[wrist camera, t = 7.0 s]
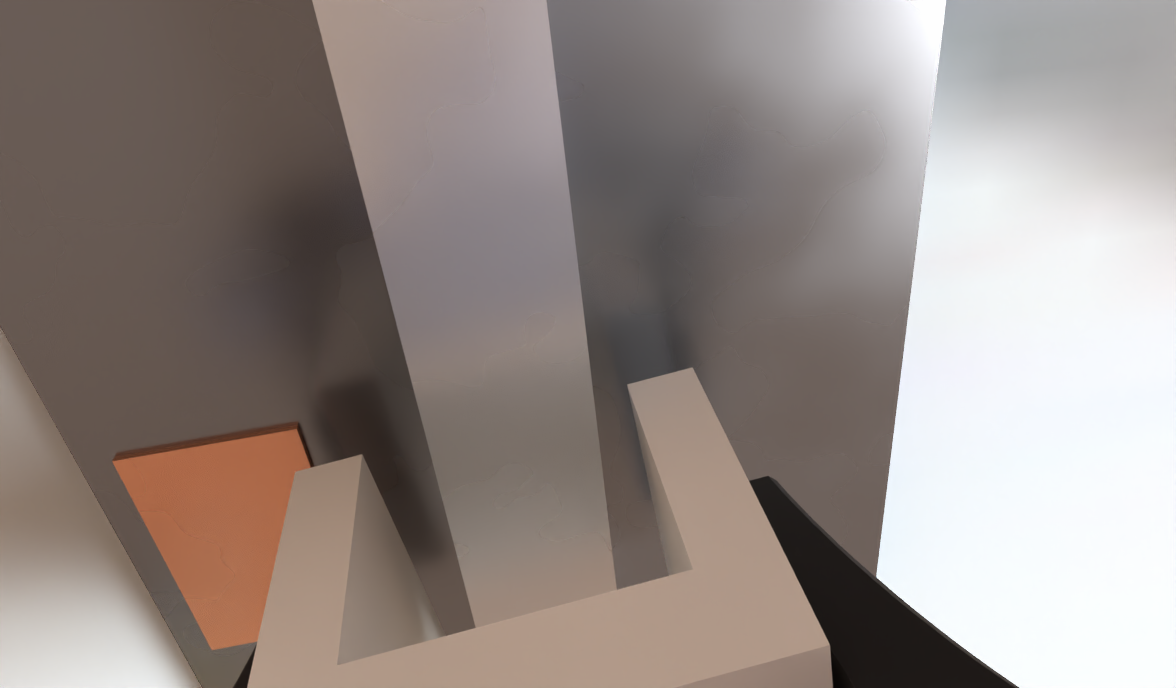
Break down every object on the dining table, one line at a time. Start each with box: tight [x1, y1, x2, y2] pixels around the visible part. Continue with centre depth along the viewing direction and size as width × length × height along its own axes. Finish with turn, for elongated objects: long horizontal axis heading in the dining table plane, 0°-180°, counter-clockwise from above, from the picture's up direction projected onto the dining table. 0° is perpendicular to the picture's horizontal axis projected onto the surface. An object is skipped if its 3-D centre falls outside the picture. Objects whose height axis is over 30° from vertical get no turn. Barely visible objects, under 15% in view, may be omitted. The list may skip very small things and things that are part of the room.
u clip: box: [247, 367, 833, 688], centre depth 10 cm, size 5×4×4 cm
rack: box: [0, 0, 946, 688], centre depth 10 cm, size 12×18×3 cm, turn 6°
